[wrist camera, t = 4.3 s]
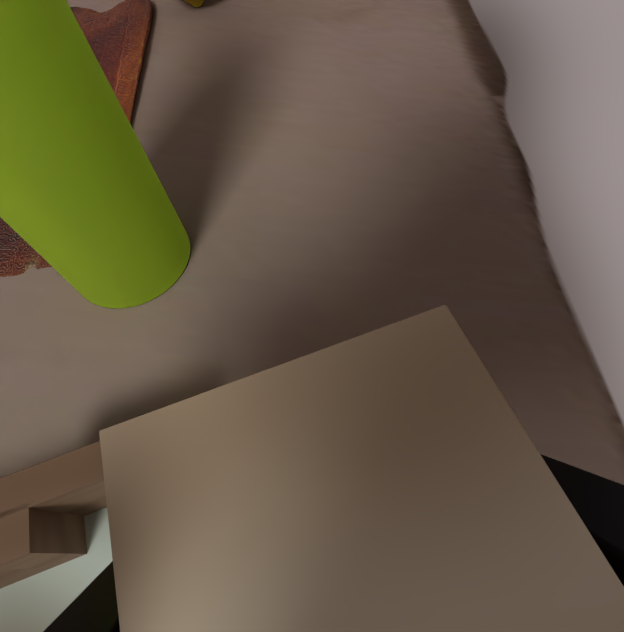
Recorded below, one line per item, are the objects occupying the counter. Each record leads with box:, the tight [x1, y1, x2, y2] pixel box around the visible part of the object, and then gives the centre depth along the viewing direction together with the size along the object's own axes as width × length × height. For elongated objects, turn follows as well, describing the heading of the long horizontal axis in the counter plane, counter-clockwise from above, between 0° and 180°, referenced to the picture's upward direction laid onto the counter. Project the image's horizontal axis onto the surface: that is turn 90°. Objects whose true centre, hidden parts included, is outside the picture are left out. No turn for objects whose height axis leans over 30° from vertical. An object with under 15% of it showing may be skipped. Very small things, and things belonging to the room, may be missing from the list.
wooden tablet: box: [0, 0, 152, 277], centre depth 28 cm, size 27×10×2 cm, turn 5°
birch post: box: [99, 304, 624, 632], centre depth 9 cm, size 4×4×11 cm
